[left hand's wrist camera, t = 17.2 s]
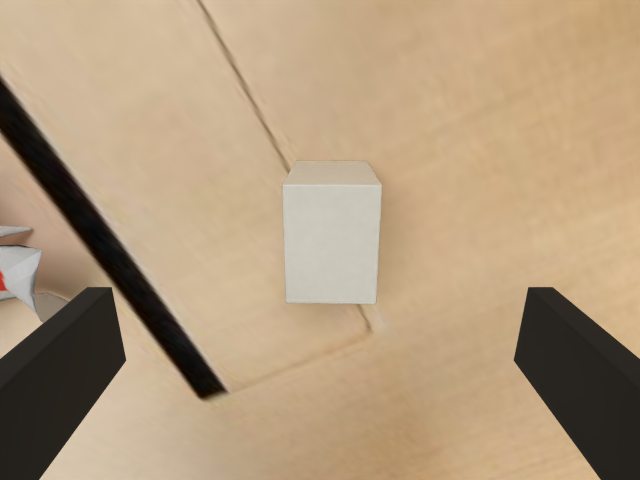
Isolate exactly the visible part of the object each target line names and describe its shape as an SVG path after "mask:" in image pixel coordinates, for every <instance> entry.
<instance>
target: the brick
mask: <svg viewBox="0 0 640 480" xmlns="http://www.w3.org/2000/svg"><path fill="white" fill-rule="evenodd" d="M282 202H283V233H284V264H285V296H286V303H322V304H376V297H377V278H378V259H379V240H380V221H381V202H382V185H381V183H380V181H379V180H378V178H377V176H376V175H375V173H374V171H373V170H372V168H371V166H370V165H369V163H368V162H367V161H296V162H295V164H294V165H293V167H292V169H291V171H290V172H289V174H288V176H287V178H286V179H285V181H284V183H283V185H282Z"/></svg>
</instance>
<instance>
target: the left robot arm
mask: <svg viewBox="0 0 640 480" xmlns="http://www.w3.org/2000/svg"><path fill="white" fill-rule="evenodd" d="M125 361H126V357H125V352H124V347H123V342H122V337H121V332H120V327H119V322H118V317H117V312H116V307H115V302H114V297H113V292H112V287H87V288H86V289H85V290H83V291H82V292H81V293H80V294H79V295H77V296H76V297H75V298H74V299H72V300H71V301H70V302H69V303H68V304H66V305H65V306H64V307H63V308H62V309H60V310H59V311H58V312H57V313H56V314H54V315H53V316H52V317H51V318H49V319H48V320H47V321H46V322H45V323H43V324H42V325H41V326H40V327H39V328H37V329H36V330H35V331H34V332H32V333H31V334H30V335H29V336H28V337H26V338H25V339H24V340H23V341H22V342H20V343H19V344H18V345H17V346H15V347H14V348H13V349H12V350H11V351H9V352H8V353H7V354H6V355H5V356H3V357H2V358H1V359H0V480H39V479H40V478H41V476H42V475H43V474H44V472H45V471H46V470H47V468H48V467H49V465H50V464H51V463H52V461H53V460H54V459H55V457H56V456H57V454H58V453H59V452H60V450H61V449H62V448H63V446H64V445H65V444H66V442H67V441H68V439H69V438H70V437H71V435H72V434H73V433H74V431H75V430H76V428H77V427H78V426H79V424H80V423H81V422H82V420H83V419H84V418H85V416H86V415H87V413H88V412H89V411H90V409H91V408H92V407H93V405H94V404H95V403H96V401H97V400H98V398H99V397H100V396H101V394H102V393H103V392H104V390H105V389H106V387H107V386H108V385H109V383H110V382H111V381H112V379H113V378H114V377H115V375H116V374H117V372H118V371H119V370H120V368H121V367H122V366H123V364H124V363H125ZM514 361H515V363H516V364H517V366H518V367H519V368H520V370H521V371H522V372H523V374H524V375H525V377H526V378H527V379H528V381H529V382H530V383H531V385H532V386H533V387H534V389H535V390H536V392H537V393H538V394H539V396H540V397H541V398H542V400H543V401H544V403H545V404H546V405H547V407H548V408H549V409H550V411H551V412H552V413H553V415H554V416H555V418H556V419H557V420H558V422H559V423H560V424H561V426H562V427H563V428H564V430H565V431H566V433H567V434H568V435H569V437H570V438H571V439H572V441H573V442H574V444H575V445H576V446H577V448H578V449H579V450H580V452H581V453H582V454H583V456H584V457H585V459H586V460H587V461H588V463H589V464H590V465H591V467H592V468H593V470H594V471H595V472H596V474H597V475H598V476H599V478H600V479H601V480H640V359H639V358H638V357H637V356H635V355H634V354H633V353H632V352H631V351H629V350H628V349H627V348H626V347H625V346H623V345H622V344H621V343H620V342H618V341H617V340H616V339H615V338H614V337H612V336H611V335H610V334H609V333H608V332H606V331H605V330H604V329H603V328H601V327H600V326H599V325H598V324H597V323H595V322H594V321H593V320H592V319H591V318H589V317H588V316H587V315H586V314H584V313H583V312H582V311H581V310H580V309H578V308H577V307H576V306H575V305H574V304H572V303H571V302H570V301H569V300H568V299H566V298H565V297H564V296H563V295H561V294H560V293H559V292H558V291H557V290H555V289H554V288H553V287H528V292H527V297H526V302H525V307H524V312H523V317H522V322H521V327H520V332H519V337H518V342H517V347H516V352H515V357H514Z"/></svg>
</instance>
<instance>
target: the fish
mask: <svg viewBox="0 0 640 480" xmlns="http://www.w3.org/2000/svg"><path fill="white" fill-rule="evenodd" d="M30 229H31V228H30V227H14V226H0V237H3V236H7V235H11V234H15V233H20V232H24V231H29V230H30ZM41 253H42V250H40V249H35V248H31V247H26V246H22V245H0V301H3V300H8V299H12V298H16V297H17V298H19V299H20V300H22V301H23V302H24V303H26V304H27V305H28V306H29V307H30V308H31V309H32V310H33V311H34V312H35V313H36V314H37V315H38V317H39V318H40V320H41V321H42V322H43V323H45V322H46V321H47V320H48V319H49V318H51V317H52V316H53V315H54V314H56V313H57V312H58V311H59V310H60V309H62V308H63V307H64V306H65V305H66V304H68V303H69V302H68V301H66V300H64V299H62V298H60V297H58V296H55V295H52V294H50V293H41V294H34V284H35V278H36V272H37V268H38V264H39V260H40V256H41Z"/></svg>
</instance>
